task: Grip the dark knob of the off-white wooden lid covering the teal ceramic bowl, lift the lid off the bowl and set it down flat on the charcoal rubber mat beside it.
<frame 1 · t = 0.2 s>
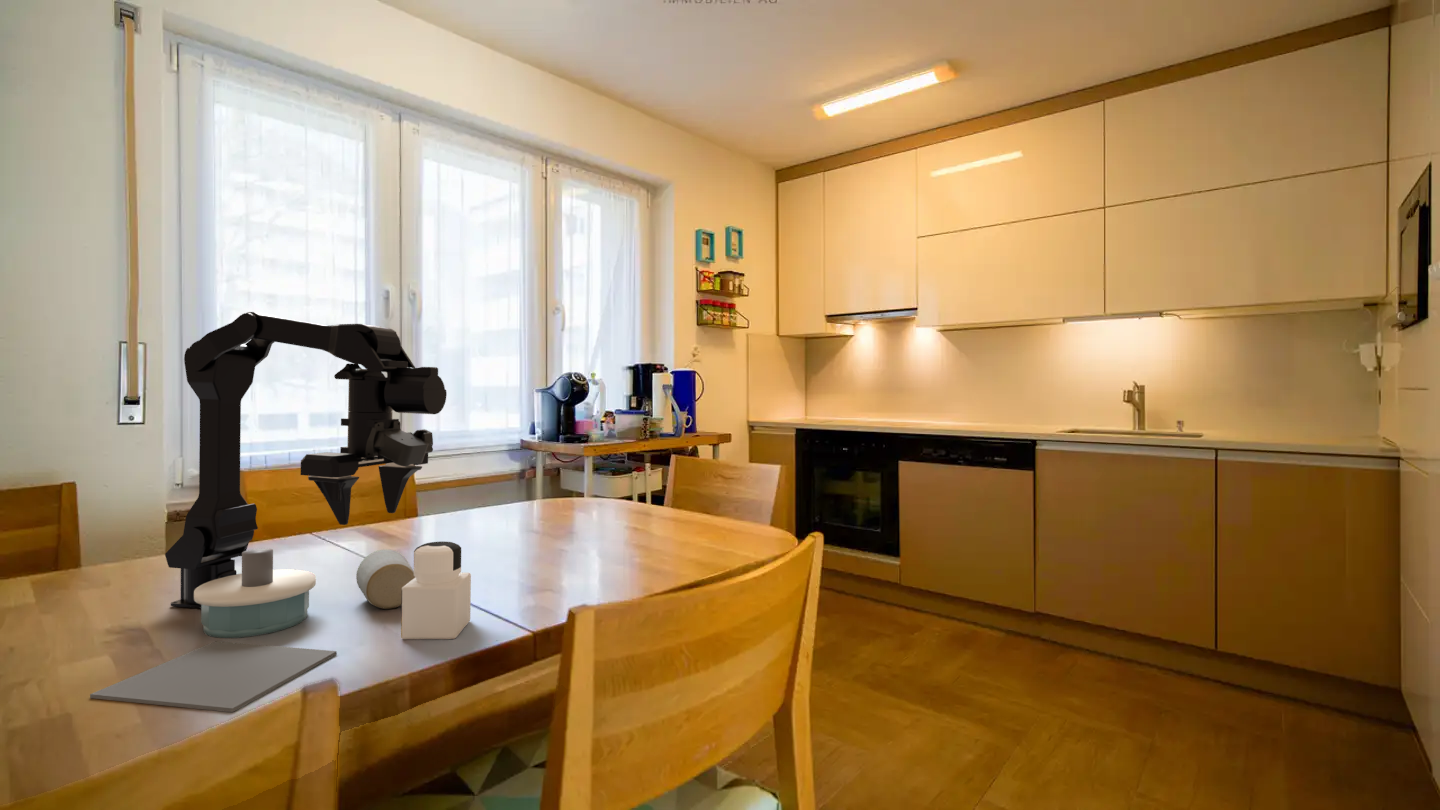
hand: (368, 518, 96), 14 cm above the table, fingers open, 9 cm apart
lid: (257, 590, 93), point 4 cm above the table, touching bowl
medicine bottle: (437, 631, 92), on the table
bowl: (257, 621, 93), on the table
mat: (223, 674, 76), on the table
ceramic mug: (396, 602, 103), on the table
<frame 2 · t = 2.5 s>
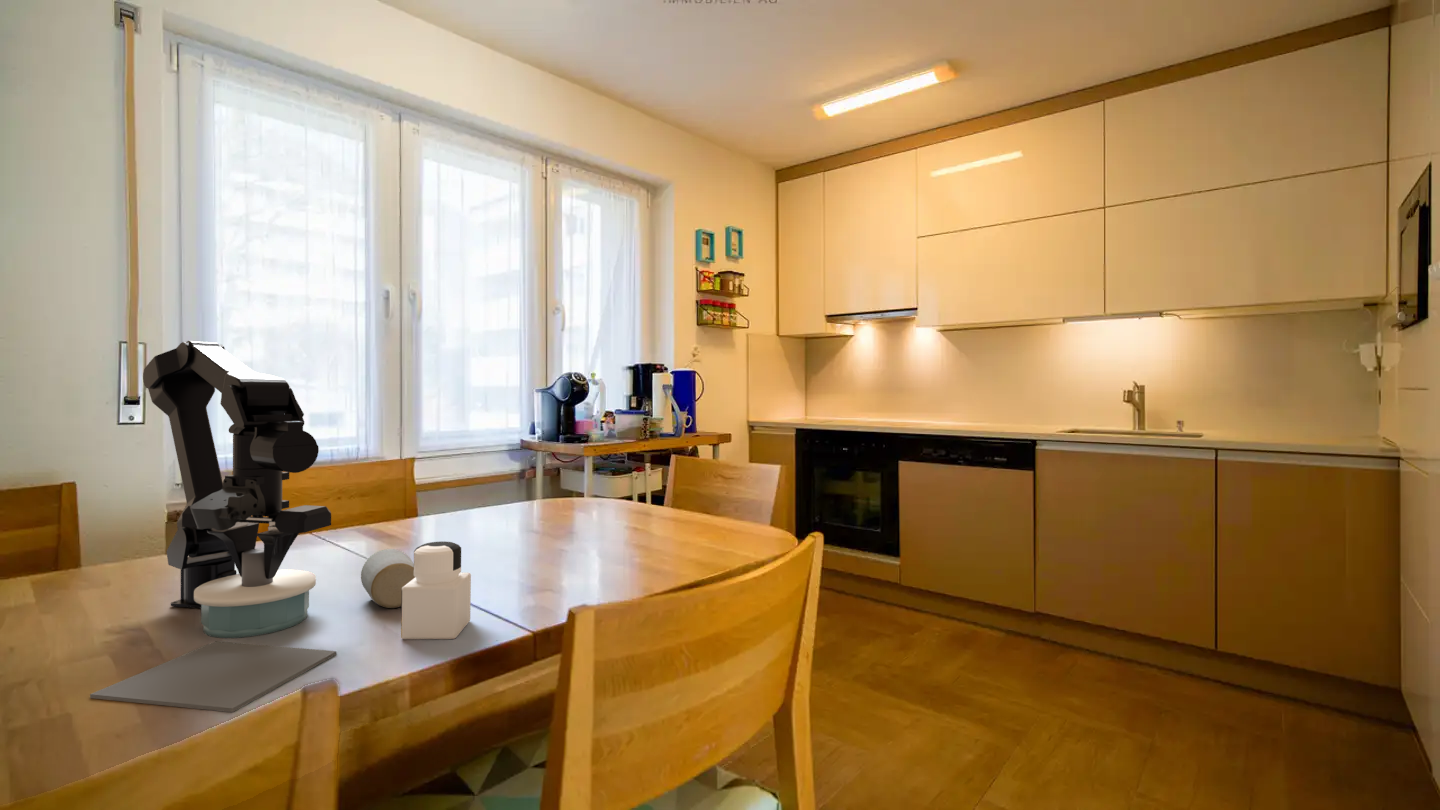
hand: (257, 577, 93), 6 cm above the table, fingers closed on lid, 4 cm apart
lid: (257, 590, 93), point 4 cm above the table, touching bowl, gripper
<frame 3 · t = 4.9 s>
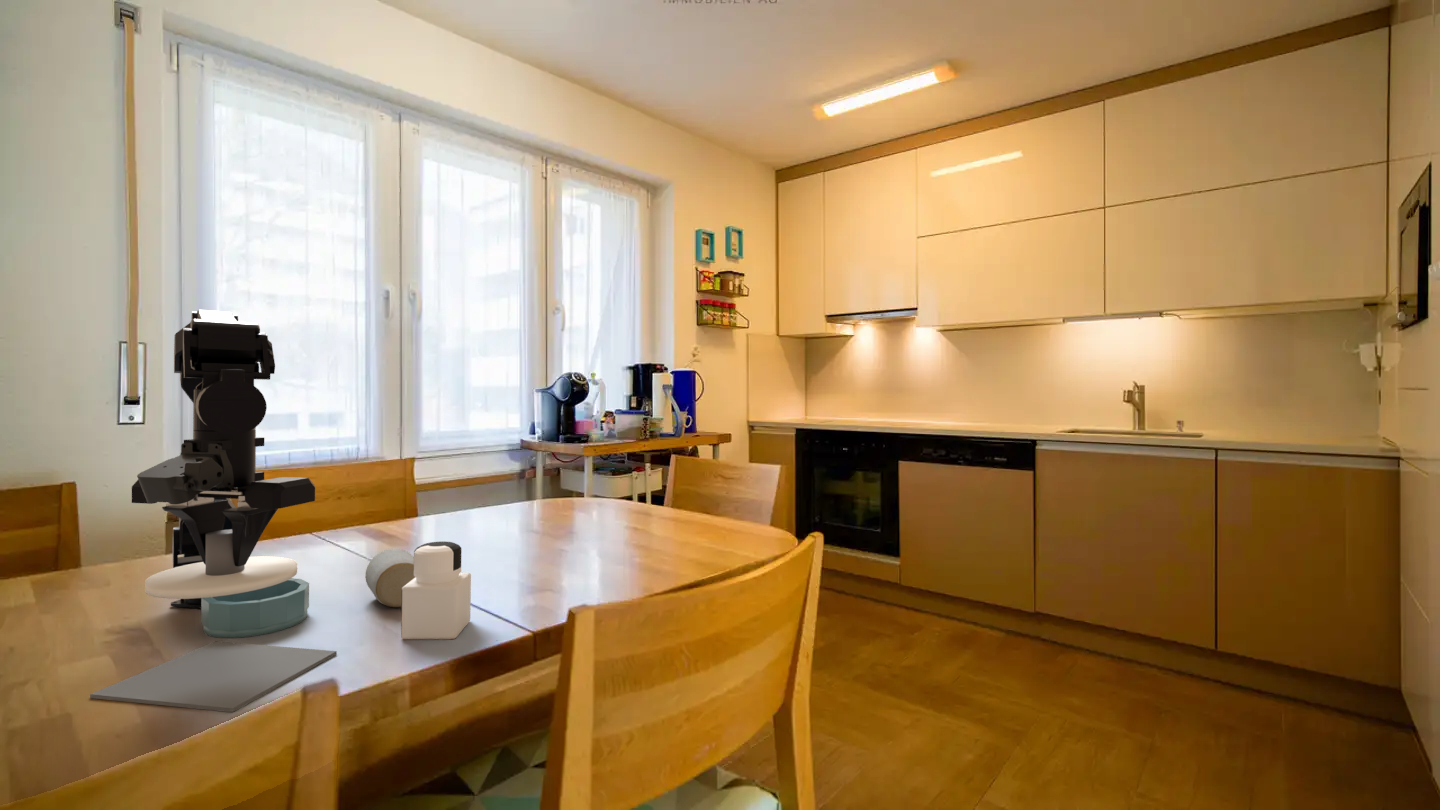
hand: (225, 564, 76), 13 cm above the table, fingers closed on lid, 4 cm apart
lid: (225, 579, 76), point 11 cm above the table, touching gripper
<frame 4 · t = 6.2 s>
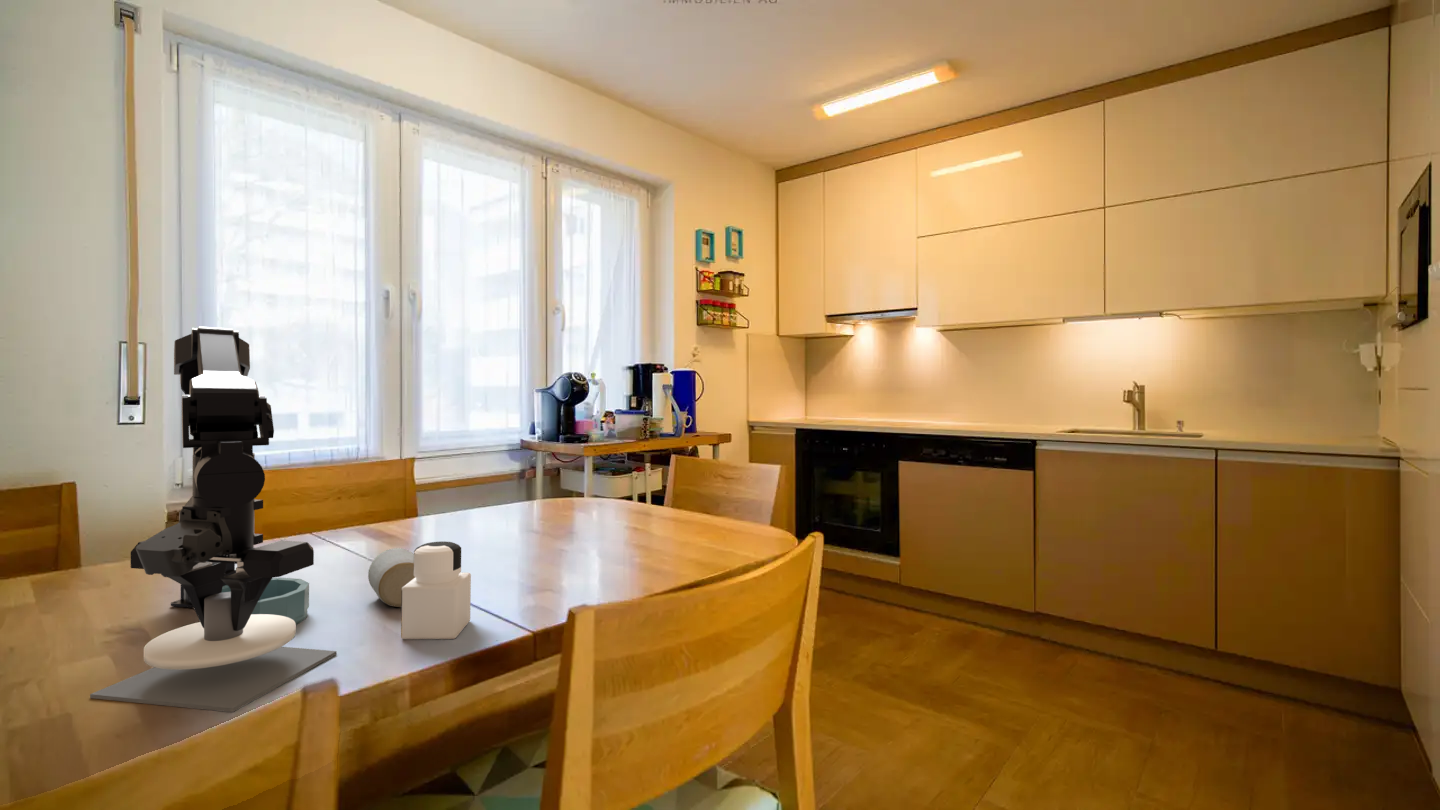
hand: (223, 628, 76), 5 cm above the table, fingers closed on lid, 4 cm apart
lid: (223, 643, 76), point 4 cm above the table, touching gripper
when the fingers open (4 cm above the table, at t = 7.2 s): lid drops 2 cm, resting on mat.
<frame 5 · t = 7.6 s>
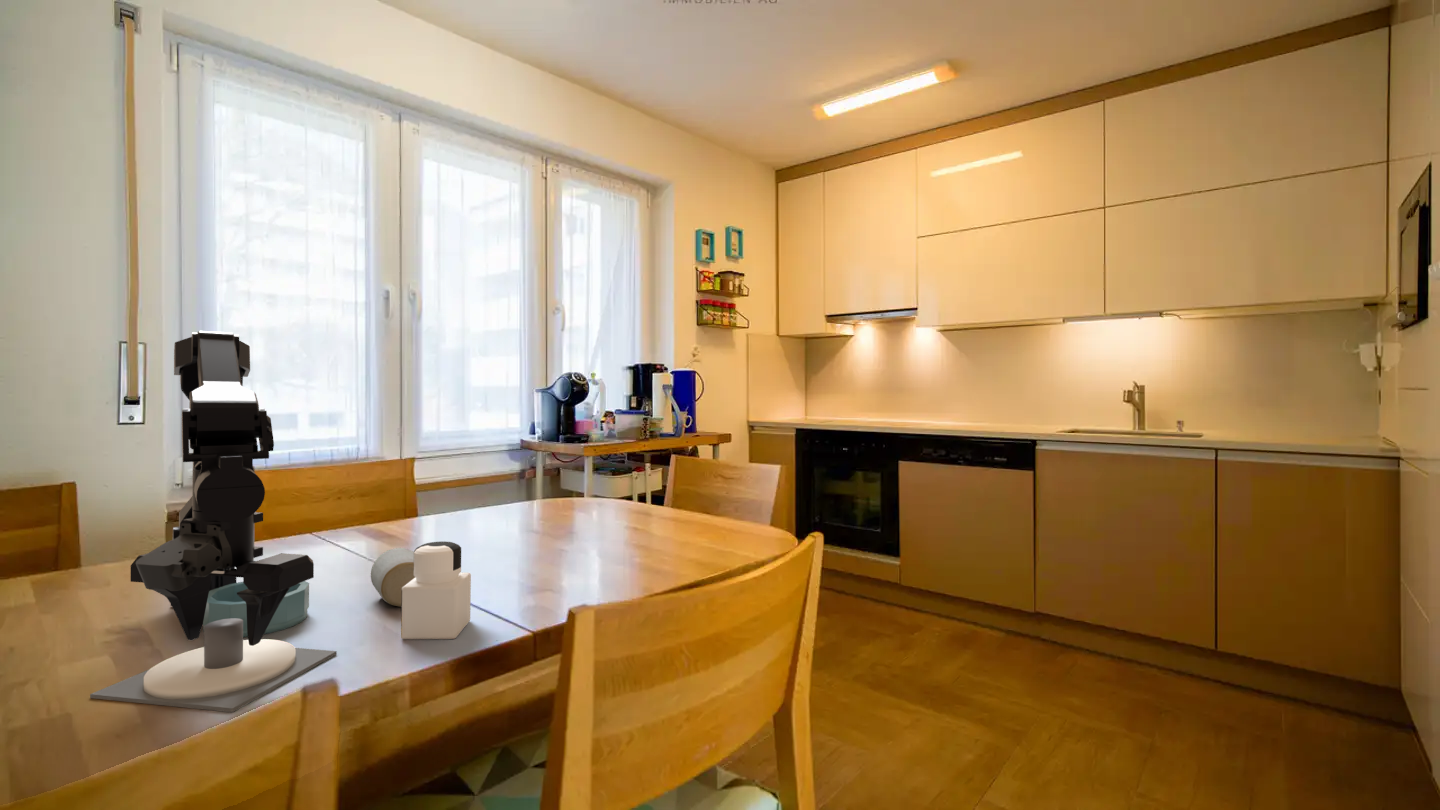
hand: (223, 641, 76), 4 cm above the table, fingers open, 8 cm apart
lid: (223, 670, 76), resting on mat
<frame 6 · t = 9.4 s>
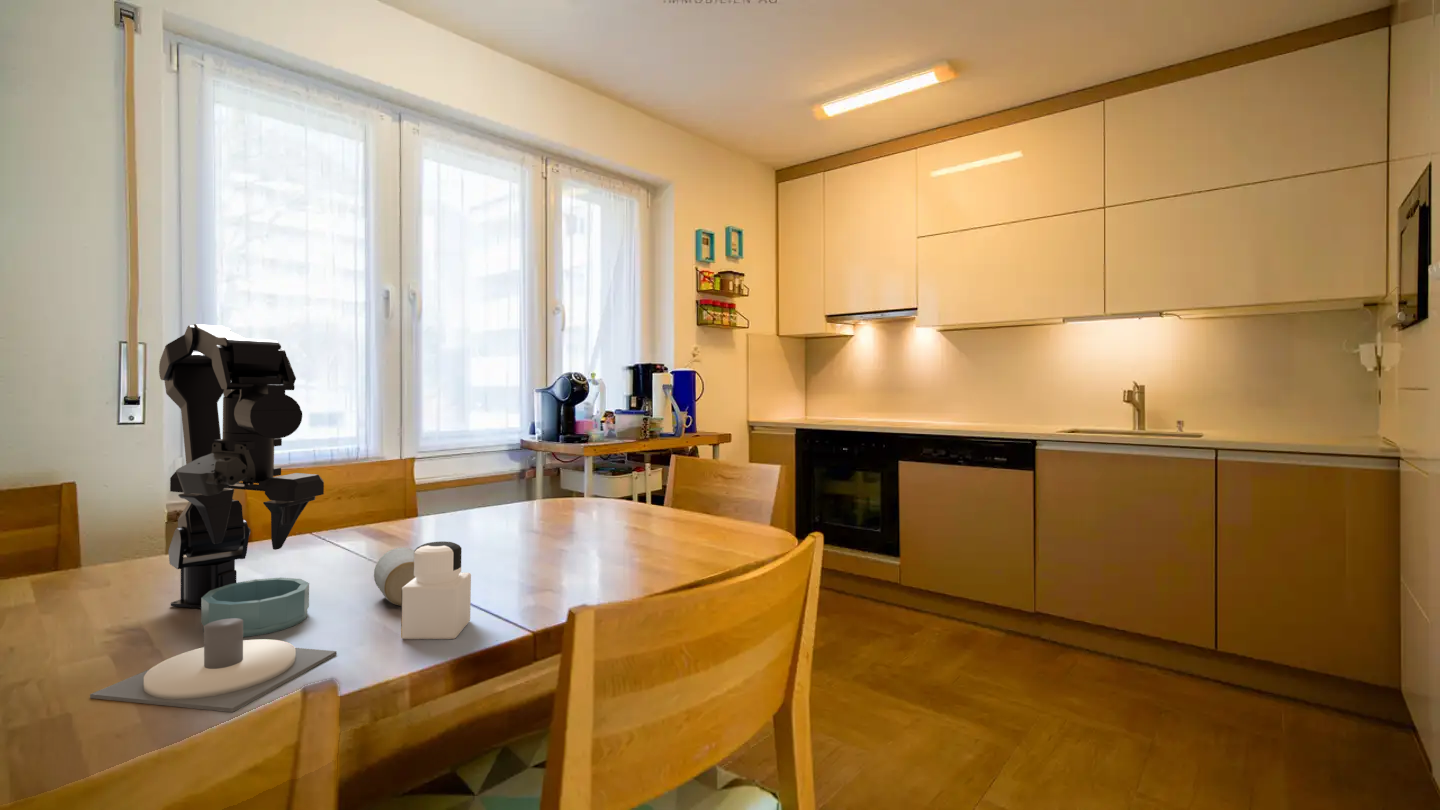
hand: (247, 546, 90), 12 cm above the table, fingers open, 9 cm apart
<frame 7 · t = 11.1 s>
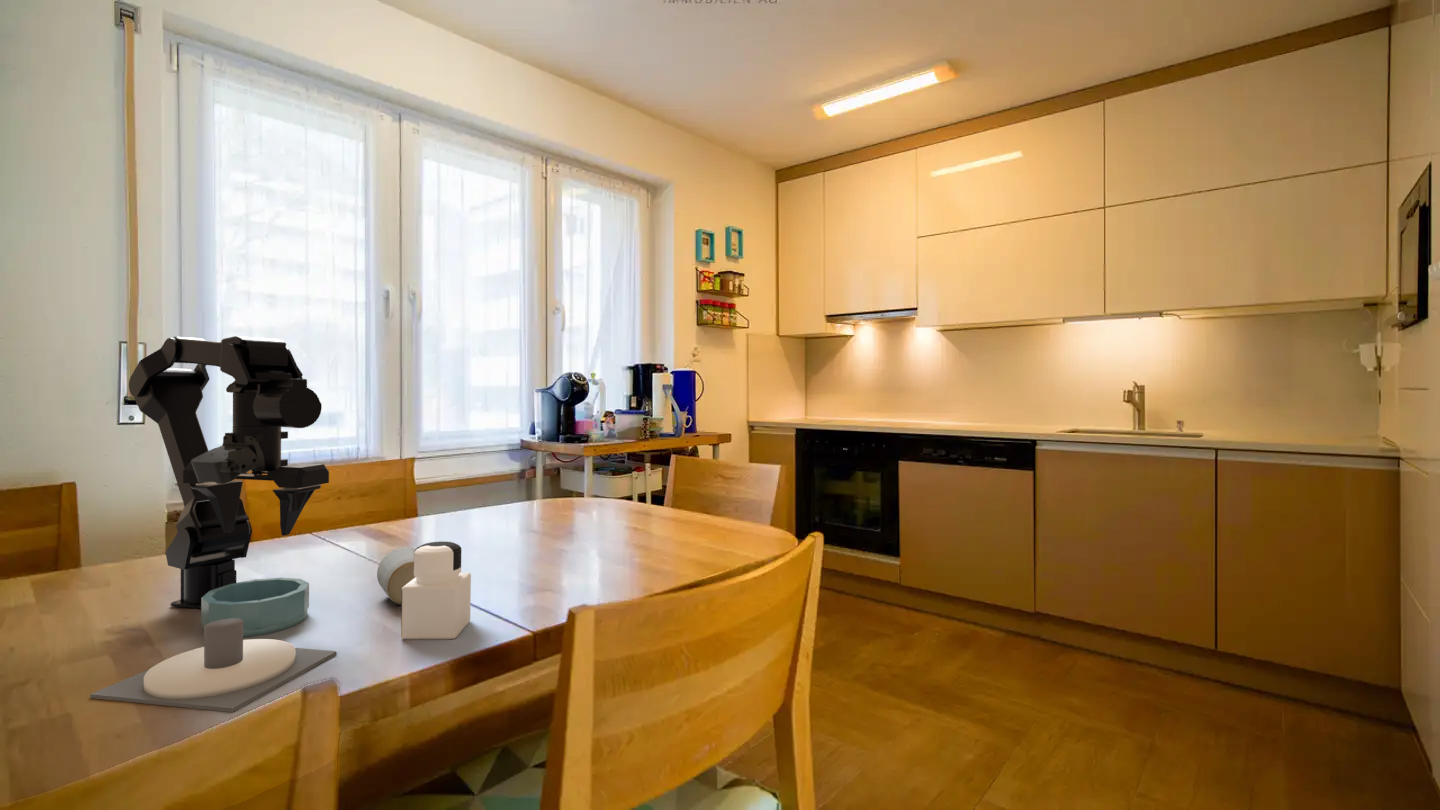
hand: (256, 533, 95), 12 cm above the table, fingers open, 9 cm apart
at the end: lid inside the target area on the mat (0.1 cm from its centre), point 0.4 cm above the mat's base; lid tilted 0°; lid touching mat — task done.
